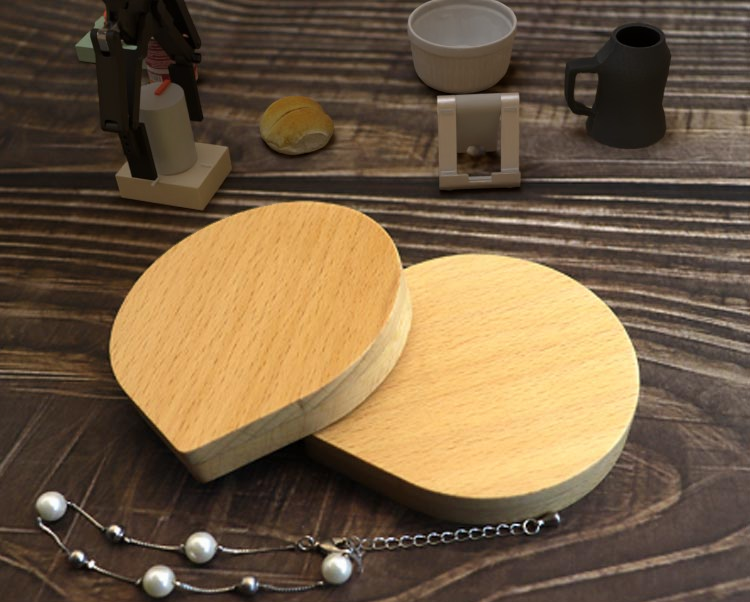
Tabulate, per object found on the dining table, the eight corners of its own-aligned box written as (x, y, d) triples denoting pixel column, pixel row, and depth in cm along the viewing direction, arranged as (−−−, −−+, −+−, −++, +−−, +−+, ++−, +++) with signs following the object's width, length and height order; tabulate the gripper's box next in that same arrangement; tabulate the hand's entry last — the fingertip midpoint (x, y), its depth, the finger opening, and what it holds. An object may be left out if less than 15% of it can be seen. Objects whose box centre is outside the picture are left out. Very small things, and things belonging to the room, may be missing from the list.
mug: (654, 101, 120) (668, 11, 112) (675, 144, 114) (693, 52, 105) (553, 110, 120) (560, 20, 112) (569, 154, 113) (578, 62, 105)
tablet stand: (439, 194, 110) (439, 127, 104) (437, 152, 115) (436, 86, 109) (519, 190, 109) (524, 123, 103) (513, 149, 115) (517, 82, 109)
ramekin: (536, 67, 127) (540, 15, 122) (468, 113, 120) (469, 59, 115) (455, 36, 133) (455, -16, 128) (386, 77, 127) (384, 25, 122)
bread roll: (314, 108, 123) (311, 78, 120) (343, 145, 117) (340, 114, 114) (250, 126, 121) (245, 96, 118) (276, 164, 115) (271, 134, 112)
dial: (184, 178, 109) (169, 110, 103) (137, 171, 110) (119, 104, 104) (205, 149, 113) (191, 82, 107) (160, 143, 114) (144, 76, 108)
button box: (79, 61, 134) (70, 32, 131) (108, 32, 139) (100, 4, 136) (146, 69, 132) (139, 40, 129) (173, 39, 137) (167, 11, 134)
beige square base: (117, 202, 112) (110, 178, 110) (157, 153, 118) (151, 129, 116) (199, 215, 109) (194, 191, 107) (235, 164, 116) (231, 140, 113)
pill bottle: (201, 89, 127) (184, 3, 119) (152, 98, 127) (132, 11, 118) (196, 65, 132) (179, -19, 123) (148, 73, 131) (128, -11, 123)
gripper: (142, -107, 103) (183, 87, 119) (19, -2, 88) (85, 205, 104) (209, -102, 101) (242, 95, 117) (96, 7, 86) (151, 215, 102)
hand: (168, 147), depth 110 cm, fingers open, 11 cm apart
